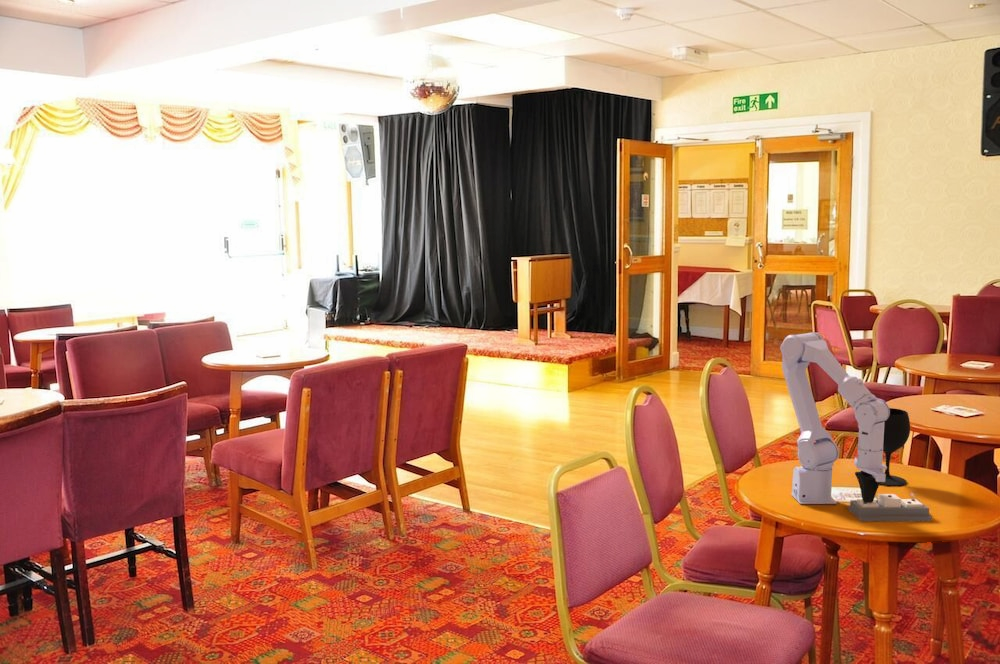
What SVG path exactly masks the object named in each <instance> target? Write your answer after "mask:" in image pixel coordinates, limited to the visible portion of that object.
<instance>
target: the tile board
mask: <svg viewBox="0 0 1000 664" xmlns="http://www.w3.org/2000/svg"><path fill="white" fill-rule="evenodd" d="M856 501H857V499H855V500H854V499H853V500H852V499H851V500H850V503H849V504H848V505H847V510H848V511H849V512H851V514H852V515H854V516H855V517H856V518H857V519H858V520H859V521H860V522H932V519H933V516H932V517H930V516H929V513H930V508H929V507H928V506H927V505H925V504H924V503H923V502H922V501H920V500H919V502H920V503H922V504H923V507H905V506H903V505H902V504H901V507H883V506H882V505H880V504H879V503H878V499H874V501H875V502H876V503H878V504H879V507H861V506H860V505H858V504H857V503H856ZM931 518H932V519H931Z"/></svg>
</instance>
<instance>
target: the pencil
mask: <svg viewBox="0 0 1000 664" xmlns="http://www.w3.org/2000/svg"><path fill="white" fill-rule="evenodd" d="M911 496H912V497H911ZM910 497H911V499H916V500H918V501H920V499H919V498H918V497H917V496H916V494H915V493H913V492H911V493H910ZM929 516H930V517H932V518H931V520H932V519H933V515H932V514H931V513H930V512H929Z"/></svg>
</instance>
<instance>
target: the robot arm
mask: <svg viewBox="0 0 1000 664" xmlns="http://www.w3.org/2000/svg"><path fill="white" fill-rule="evenodd" d="M779 349H780V352H781V355H782V359H781V361H782V362H781V369H782V373H783V377H784V380H785V383H786V387H787V390H788V394H789V396H790V399H791V403H792V407H793V411H794V414H795V416H796V420H797V423H798V426H799V430H800V436H799V437H798V438H797V441H796V444H797V458H798V461H799V462H800V464H801V465H800V466H795V467H794V468H793V471H792V483H791V484H792V486H791V487H792V488H791V497H793V498H794V499H795V500H796V501H797V502H798V503H799V504H800V505H836V504H837V501H836V500H835V499H834V498H833V497H832V484H833V467H835V466H834V463H835V462H837V460H838V459H839V455H840V450H839V447H838V445H837V444H836V443H835V441H834V439H833V437H832V434H831V433H830V432H829V431H827V430H826V429H825V428H824V427H823V425H822V422H821V418H820V415H819V412H818V409H817V405H816V401H815V399H814V395H813V392H812V389H811V386H810V382H809V380H808V376H807V373H806V370H807V368H808V367H809V365H810V363H815V364H817V365H818V366H819V367H821V369H822V370H823V371H824V372H825V373H826V374H827V375H828V376H829V377H830V378H831V379H832V380H833V381H834V382H835V383H836V384H837V392H838V393H839V394H840V395H841V396H842V397H843V399H844V400H845V401H846V402H847V403H848V405H850V407H851V408H852V409H853V411H854V417H855V420H856V421H857V427H858V445H857V457H854V466H855V468H856V469H857V470H860V471H855V472H854V475H855V478H856V479H857V482H858V484H859V489H860V494H861V499H863V501H864V502H873V501H874V500H875V497H876V494H877V492H878V489H879V487H880V486H881V485H880V484H881V482H885V477H886V474H885V469H887V466H886V464H883V459H884V457H883V456H884V452H883V440H884V421H886V420H887V419H888V417H889V415H890V409H889V408H890V407H889V405H888V404H887V402H886V400H884V399H881V398H878V397H876V395H875V394H873V393H871V391H870V390H869V389H868V388H867V387H866V386H865V384H864V381H863V380H862V378H858V377H857V376H850V375H849V374H848V373H847V371H846V370H845V368H844V367H843V366H842V365H841V364H840V362H839V360H838V359H837V358H836V357H835V356H834V355H833V353H832V351H830V349H829V347H828V344H827V341H825V340H824V339H823V338H822V336H821V335H820V334H819V333H818V332H814V331H811V332H807V333H797V334H789V335H787V336H786V337H784V339H783V341H782V343H781V345H780V346H779Z"/></svg>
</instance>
